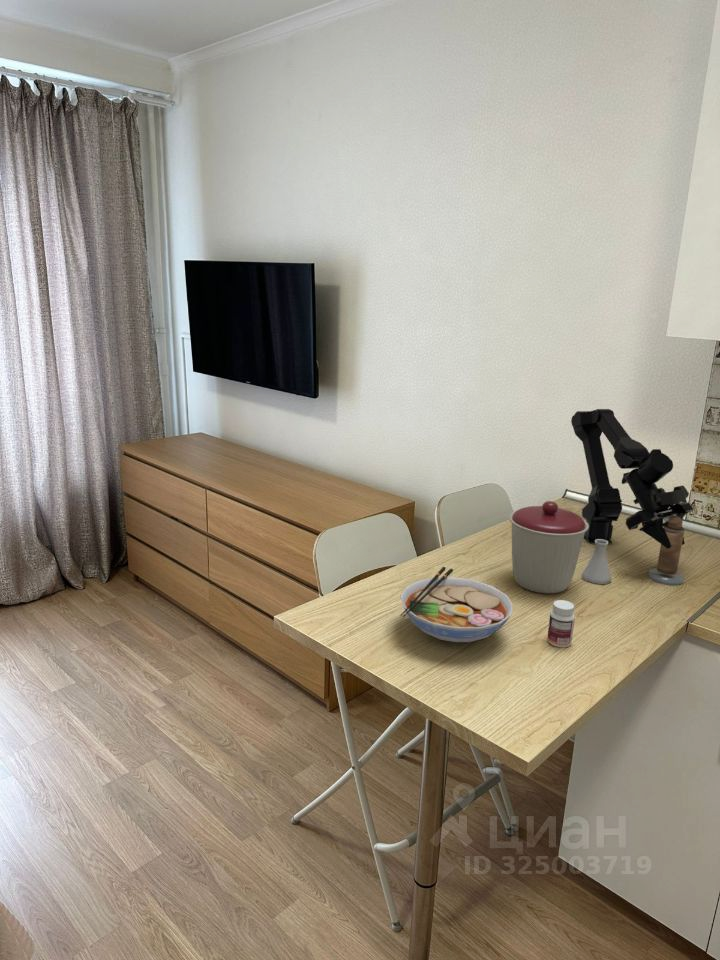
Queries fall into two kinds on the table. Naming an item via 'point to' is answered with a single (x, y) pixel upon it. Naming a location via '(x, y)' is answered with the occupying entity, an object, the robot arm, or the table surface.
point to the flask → (598, 565)
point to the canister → (545, 546)
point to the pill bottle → (561, 624)
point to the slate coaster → (666, 577)
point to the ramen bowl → (456, 607)
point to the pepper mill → (671, 556)
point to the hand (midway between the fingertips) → (676, 546)
